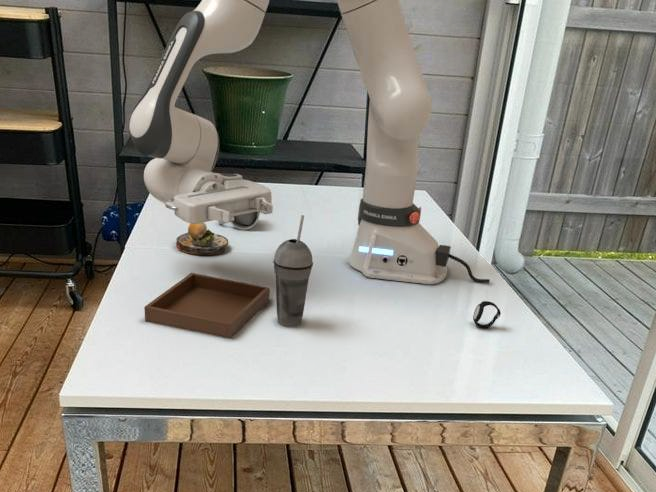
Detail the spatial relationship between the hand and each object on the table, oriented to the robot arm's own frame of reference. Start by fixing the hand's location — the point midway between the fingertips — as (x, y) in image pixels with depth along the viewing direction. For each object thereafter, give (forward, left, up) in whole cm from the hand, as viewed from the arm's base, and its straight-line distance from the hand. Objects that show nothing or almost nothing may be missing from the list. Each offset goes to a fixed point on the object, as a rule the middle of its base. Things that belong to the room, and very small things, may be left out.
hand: (250, 213), depth 141 cm
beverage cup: (-11, +6, -17) cm, 21 cm away
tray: (+5, +8, -17) cm, 19 cm away
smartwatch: (-46, -9, -17) cm, 50 cm away
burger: (+21, -25, -17) cm, 38 cm away
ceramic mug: (+20, -45, -17) cm, 53 cm away
